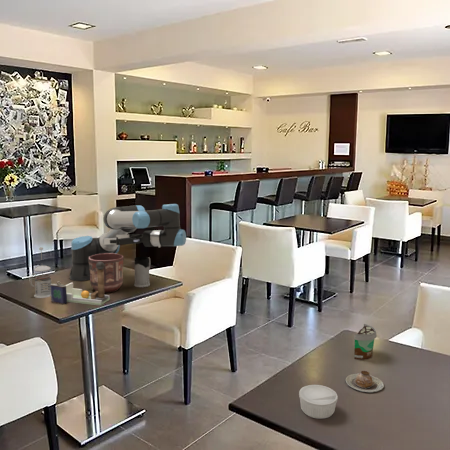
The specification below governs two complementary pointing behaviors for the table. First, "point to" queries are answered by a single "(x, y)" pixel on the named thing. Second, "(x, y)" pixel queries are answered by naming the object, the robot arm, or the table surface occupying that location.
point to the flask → (58, 293)
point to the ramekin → (318, 401)
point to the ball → (85, 294)
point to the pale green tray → (75, 297)
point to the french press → (45, 280)
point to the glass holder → (142, 271)
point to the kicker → (100, 283)
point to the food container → (364, 343)
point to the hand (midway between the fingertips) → (110, 239)
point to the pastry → (364, 381)
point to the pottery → (107, 271)
